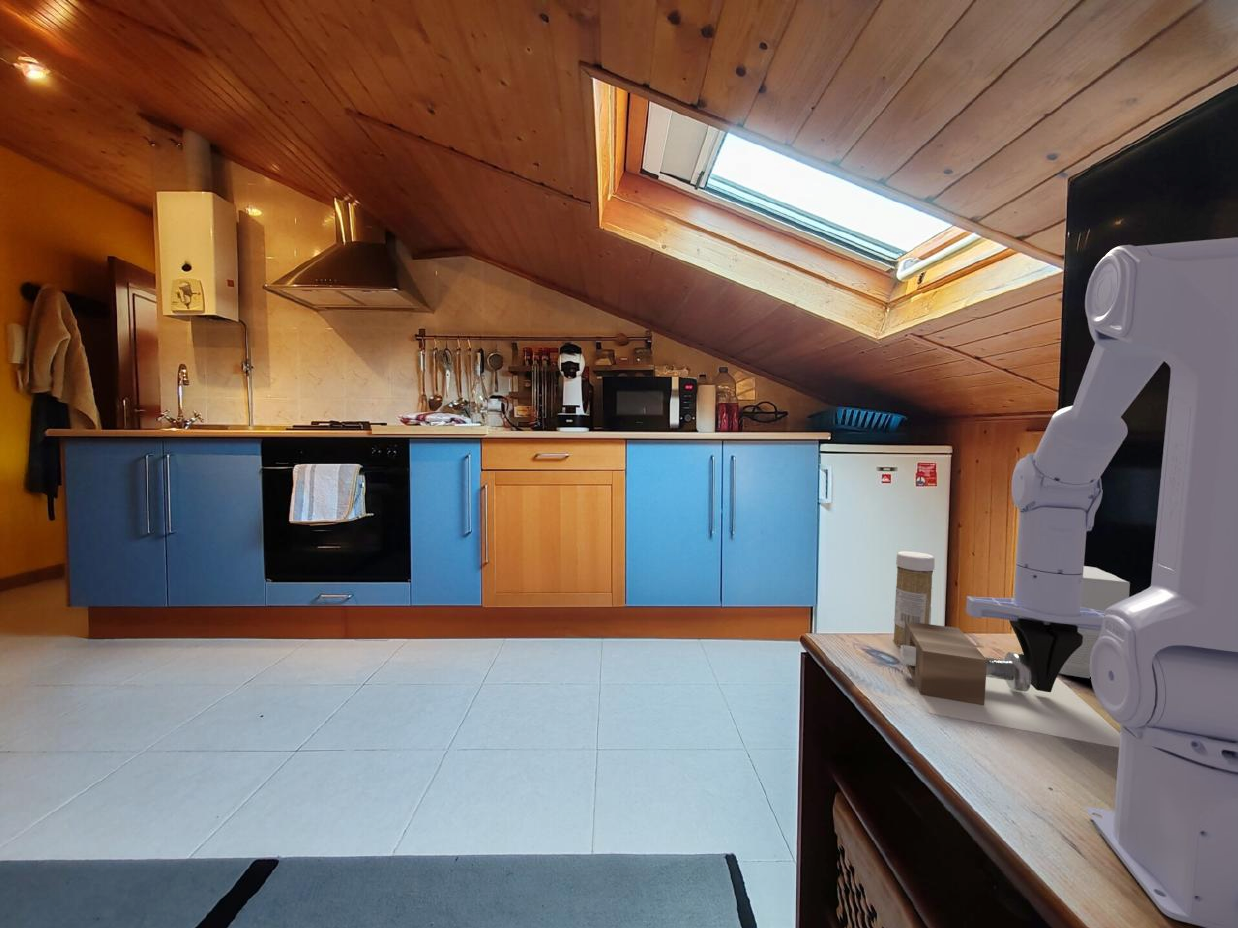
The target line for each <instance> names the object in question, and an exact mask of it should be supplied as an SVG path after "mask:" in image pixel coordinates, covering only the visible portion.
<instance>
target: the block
mask: <svg viewBox="0 0 1238 928" xmlns="http://www.w3.org/2000/svg"><path fill="white" fill-rule="evenodd" d="M904 645H906V646H913V647H916V662H915V666H912V665H905V666H907V667H906V668H908V669H907V671H908V670H909V671H908V673H909V672H910V673H909V674H911V675H910V676H912V677H911V679H912V678H913V679H912V681H913V680H914V681H913V683H914V682H915V683H914V684H916V685H915V687H916V686H917V687H916V689H917V688H918V689H917V691H918V690H919V691H918V693H919V692H920V693H919V695H920V694H921V695H925V696H931V697H937V698H943V699H949V700H954V701H960V702H966V703H972V704H978V705H983V706H984V701H985V686H986V671H987V659H986V658H985V657H986V656H984V655H983V654H982V652H981V651H980V650H979V649H978V648H977V647H976V646H975V645H974V643H973V642H972V641H971V640H970V639H969V638H968V637H967V636H966V634H965V633H964V632H963V631H962V630H961V628H959V627H952V626H945V625H937V624H931V623H930V624H923V623H916V622H908V621H905V630H904ZM921 695H920V696H921Z"/></svg>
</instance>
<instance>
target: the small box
mask: <svg viewBox="0 0 1238 928" xmlns="http://www.w3.org/2000/svg"><path fill="white" fill-rule="evenodd" d="M1130 586H1131V582H1130V581H1127V580H1126V579H1122V578H1120V577H1118V576H1117V575H1114V574H1112V573H1110V572H1106V571H1105V570H1102V569H1100V568H1098V567H1093V566H1087V565H1084V570H1083V583H1082V597H1081V607H1083V608H1089V609H1094V610H1100V611H1105V610H1106V609H1107V608H1109V607H1110V606H1112V605H1114V604H1116V603H1118V602H1120V601H1122V600H1125V599H1127V598H1129V597H1130V590H1131V589H1130ZM1100 632H1101V631H1093V630H1085V629H1078V633H1080V634H1081V635H1082V636H1083V642H1082V645H1081V646H1080V647H1079V648H1078V649H1077V650H1076V651H1075V652H1074V653H1073V654H1072V655H1071V656H1070V657H1069V658H1068V660H1067V661H1066V662H1065V664H1064V665H1063V667H1062V668H1061V670H1060V672H1059V674H1061V675H1065V676H1073V677H1077V678H1078V677H1079V678H1086V679H1090V677H1091V676H1090V657H1091V652H1092V649H1093V646H1094V645H1095V643H1096V642H1097V640H1098V638H1099V635H1100Z"/></svg>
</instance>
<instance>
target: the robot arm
mask: <svg viewBox="0 0 1238 928" xmlns="http://www.w3.org/2000/svg"><path fill="white" fill-rule="evenodd" d="M1084 299H1085V300H1084V309H1085V315H1086V317H1087V323H1088V324H1087V325H1088V329H1089V333H1090V335H1091V337H1092V340H1093V342H1094V345H1093V349H1092V352H1091V353H1090V357H1089V360H1088V363H1087V365H1086V368H1085V371H1084V373H1083V376H1082V379H1081V382H1080V385H1079V387H1078V390H1077V393H1076V396H1075V398H1074V400H1073V401H1074V402H1073V405H1070V406H1066V407H1063V408H1060V409H1058V410H1057V411H1056V412H1054V414H1053V415H1052V417H1051V418H1050V420H1049V423H1048V425H1047V427H1046V429H1045V431H1044V433H1043V435H1042V437H1041V440H1040V442H1039V444H1038V445H1037V447H1036V450H1035V452H1033V453H1027V454H1026V456H1025V457H1023V458H1022V457H1021V458H1020V459H1019V460H1018V461H1017V462H1016V465H1015V467H1014V470H1013V473H1012V478H1011V496H1012V501H1013V503H1014V504H1013V505H1014V506H1015V507H1016V509H1017V510H1018V511H1019V513H1018V525H1017V526H1018V527H1017V541H1016V556H1015V557H1016V558H1015V570H1014V584H1013V585H1014V587H1013V598H1012V597H1010V598H1009V597H981V596H980V597H979V596H968V595H967V596H966V602H965V603H966V606H965V612H966V613H967V615H968V616H970V617H971V618H975V619H976V618H977V619H982V618H990V619H996V620H1006V621H1009V624H1010V626H1011V628H1012V630H1013V632H1014V633H1015V636H1016V638H1017V641H1018V642H1019V646H1020V647H1021V648H1020V649H1021V651H1022V654H1023V655H1025V656H1026V658H1027V660H1028V662H1029V665H1030V670H1031V685H1032V686H1033V687H1034V688H1035V689H1036V690H1038V691H1044V692H1051V691H1052V688H1053V685H1054V682H1055V680H1056V678H1058V676H1059V674H1060V673H1059V672H1060V670H1061V668H1062V667H1063V665H1064V664H1065V662H1066V661H1067V660H1068V658H1069V657H1070V656H1071V655H1072V654H1073V653H1074V652H1075V651H1076V650H1077V649H1078V648H1079V647H1080V646H1081V645H1082V642H1083V636H1082V635H1081V634H1080V633H1078V629H1085V630H1093V631H1101V632H1100V635H1099V638H1098V640H1097V642H1096V643H1095V645H1094V646H1093V649H1092V652H1091V657H1090V676H1091V679H1090V681H1091V685H1092V689H1093V692H1094V695H1095V696H1096V699H1097V701H1098V703H1099V704H1100V706H1101V708H1102V709H1103V710H1104V711H1105V712H1106V713H1107V714H1108V715H1109V717H1110V718H1112V720H1113V721H1114V722H1116V723H1117V724H1118V725H1120V732H1119V733H1120V744H1119V748H1118V758H1117V761H1118V762H1117V771H1116V774H1117V775H1116V783H1115V797H1114V809H1113V811H1111V810H1107V809H1103V808H1102V809H1101V808H1097V807H1092V806H1085V807H1084V810H1085V811H1086V812H1087V814H1088V815H1089V817H1090V818H1089V821H1090V822H1091V823H1092V825H1093V826H1094V827H1095V828H1096V830H1097V831H1098V833H1099V834H1100V835H1101V836H1102V837H1103V838H1104V840H1105V841H1106V842H1107V844H1108V845H1109V847H1110V848H1111V849H1112V851H1113V852H1114V853H1115V854H1116V855H1117V856H1118V858H1119V859H1120V860H1121V862H1122V863H1123V864H1124V865H1125V867H1126V868H1127V869H1128V871H1129V872H1130V873H1131V874H1132V876H1133V877H1134V878H1135V880H1136V881H1137V883H1139V885H1140V886H1141V888H1143V890H1144V891H1145V893H1146V894H1147V895H1148V896H1149V898H1150V899H1151V900H1152V901H1153V903H1154V904H1155V905H1156V907H1157V908H1158V909H1159V911H1161V913H1163V915H1165V916H1167V917H1169V918H1171V919H1173V920H1176V921H1179V922H1183V923H1187V924H1191V925H1195V926H1199V927H1201V928H1238V237H1229V238H1228V237H1227V238H1219V239H1217V238H1216V239H1214V238H1213V239H1205V240H1193V241H1192V240H1191V241H1181V242H1170V243H1159V244H1146V245H1137V246H1136V245H1132V244H1127V245H1126V244H1124V245H1123V244H1122V245H1119V246H1116V247H1114V248H1112V249H1111V250H1109V252H1107V253H1106V254H1105V256H1103V257H1102V258H1101V259H1100V260H1099V261H1098V263H1097V264H1096V265H1095V267H1094V269H1093V271H1092V273H1091V275H1090V277H1089V279H1088V282H1087V288H1086V292H1085V298H1084ZM1164 362H1165V363H1166V364H1167V365H1168V366H1169V368H1170V378H1169V388H1168V399H1167V409H1166V410H1167V411H1166V420H1165V430H1164V431H1165V432H1164V441H1163V452H1162V453H1163V454H1162V463H1161V473H1160V476H1161V477H1160V482H1159V483H1160V484H1159V493H1158V494H1159V495H1158V505H1157V518H1156V525H1155V527H1156V528H1155V539H1154V546H1153V547H1154V549H1153V559H1152V560H1153V561H1152V569H1151V583H1150V586H1149V587H1148V588H1146V589H1143V590H1142V591H1141V592H1137V593H1136V594H1134V595H1131V596H1129V598H1127V599H1125V600H1122V601H1120V602H1118V603H1116V604H1114V605H1112V606H1110V607H1109V608H1107V609H1106V610H1105V611H1100V610H1094V609H1089V608H1083V607H1081V597H1082V583H1083V570H1084V566H1085V557H1086V556H1085V554H1086V542H1087V541H1086V540H1087V532H1091V531H1093V530H1092V529H1093V527H1094V524H1095V515H1096V513H1097V511H1098V509H1099V508H1100V504H1101V502H1102V498H1103V491H1104V490H1103V489H1102V488H1103V486H1102V478H1101V476H1102V475H1103V473H1104V471H1105V470H1106V468H1107V467H1108V466H1109V463H1111V461H1112V459H1113V457H1114V456H1115V454H1116V453H1117V451H1118V450H1119V448H1120V447H1121V445H1122V444H1123V441H1125V439H1126V437H1127V435H1128V433H1129V432H1128V426H1127V424H1126V422H1125V421H1124V419H1123V418H1122V416H1123V414H1124V413H1125V412H1126V411H1127V409H1128V408H1129V407H1130V405H1131V404H1132V403H1133V401H1135V400H1136V398H1137V396H1138V395H1139V394H1140V393H1141V391H1142V390H1143V389H1144V388H1145V386H1146V384H1148V383H1149V381H1150V379H1151V378H1152V377H1153V376H1154V374H1155V373H1156V372H1157V371H1158V370H1159V368H1160V367H1161V365H1162V364H1163V363H1164ZM1094 814H1095V815H1098V816H1100V817H1097V816H1095V815H1094Z"/></svg>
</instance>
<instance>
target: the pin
mask: <svg viewBox="0 0 1238 928" xmlns="http://www.w3.org/2000/svg"><path fill="white" fill-rule="evenodd" d="M899 654H900V655H899V656H900V659H899V660H900V663H901V664H902V665H905V664H906V665H912V666H915V662H916V647H913V646H906V645H901V647H900V652H899ZM984 657H985V658H986V659H987V671H986V677H989V678H995V679H1002V680H1006V682H1007V685H1008V686H1009V688H1010V689H1012V690H1018V691H1024V692H1026V691H1028V690H1029V688H1030V685H1031V670H1030V665H1029V662H1028V660H1027V658H1026V656H1025V655H1024V654H1023V653H1017V652H1016V653H1015V652H1007V653H1006V654H1005V656H1004V659H1001V658H996V657H995V658H994V657H989V656H984ZM906 665H905V666H906Z"/></svg>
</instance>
